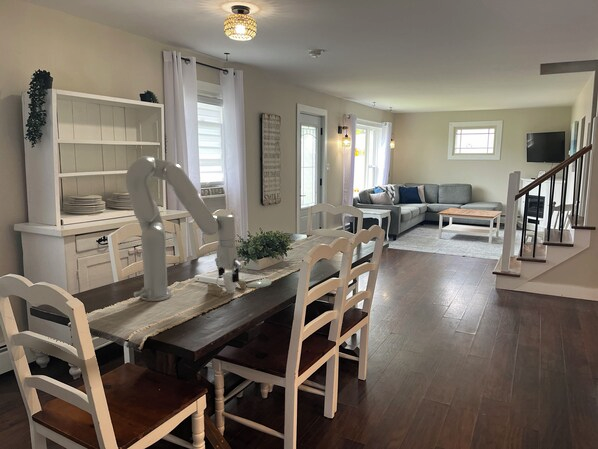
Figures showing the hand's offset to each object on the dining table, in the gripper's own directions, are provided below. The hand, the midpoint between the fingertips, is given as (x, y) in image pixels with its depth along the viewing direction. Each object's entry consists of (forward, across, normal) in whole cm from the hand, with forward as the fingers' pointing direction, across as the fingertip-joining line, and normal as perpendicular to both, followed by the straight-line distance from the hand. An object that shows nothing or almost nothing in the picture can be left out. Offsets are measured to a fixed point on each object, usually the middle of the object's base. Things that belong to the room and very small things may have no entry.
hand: (228, 279), depth 204 cm
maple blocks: (+5, 0, -1) cm, 5 cm away
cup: (+6, 0, -1) cm, 6 cm away
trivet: (+6, 0, +16) cm, 17 cm away
